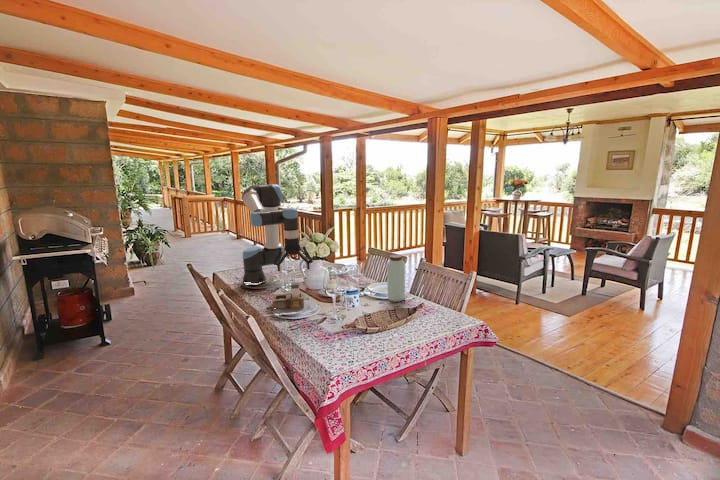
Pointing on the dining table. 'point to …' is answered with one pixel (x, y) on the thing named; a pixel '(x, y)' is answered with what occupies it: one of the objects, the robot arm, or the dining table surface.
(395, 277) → the water bottle
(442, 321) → the dining table surface
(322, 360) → the dining table surface
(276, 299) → the socket block
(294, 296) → the plug
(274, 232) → the robot arm
